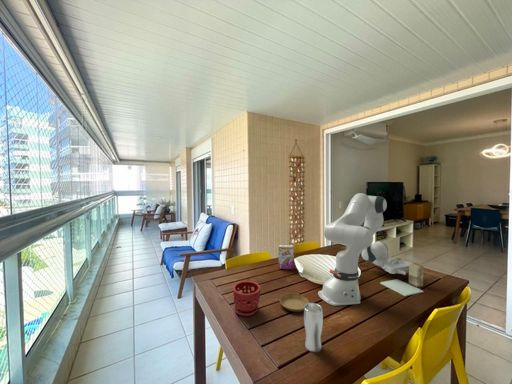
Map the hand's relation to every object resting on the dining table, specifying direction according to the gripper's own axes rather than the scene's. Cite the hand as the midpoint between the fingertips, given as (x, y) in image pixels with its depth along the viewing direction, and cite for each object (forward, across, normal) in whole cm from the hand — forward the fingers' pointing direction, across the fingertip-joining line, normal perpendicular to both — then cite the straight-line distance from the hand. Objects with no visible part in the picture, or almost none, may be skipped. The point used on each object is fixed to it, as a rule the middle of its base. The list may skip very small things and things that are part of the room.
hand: (411, 272), depth 133 cm
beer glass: (+26, -86, +7) cm, 90 cm away
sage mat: (+3, -12, +6) cm, 14 cm away
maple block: (+3, 0, +6) cm, 7 cm away
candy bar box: (-46, -63, +7) cm, 78 cm away
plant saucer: (-1, -80, +7) cm, 80 cm away
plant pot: (-4, -104, +7) cm, 104 cm away
